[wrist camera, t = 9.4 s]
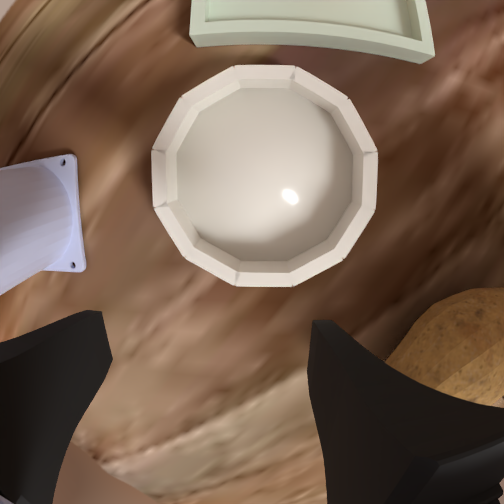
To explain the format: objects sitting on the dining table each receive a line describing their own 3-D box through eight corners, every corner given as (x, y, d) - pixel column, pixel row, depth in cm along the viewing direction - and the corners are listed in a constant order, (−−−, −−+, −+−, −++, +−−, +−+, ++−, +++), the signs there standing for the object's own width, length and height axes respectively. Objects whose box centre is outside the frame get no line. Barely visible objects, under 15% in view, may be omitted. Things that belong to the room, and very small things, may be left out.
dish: (171, 269, 19) (159, 284, 17) (166, 82, 16) (152, 72, 14) (356, 272, 19) (367, 286, 16) (362, 84, 15) (375, 74, 13)
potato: (329, 330, 20) (358, 414, 12) (490, 238, 18) (564, 274, 10) (368, 413, 22) (393, 486, 15) (501, 334, 20) (551, 382, 12)
